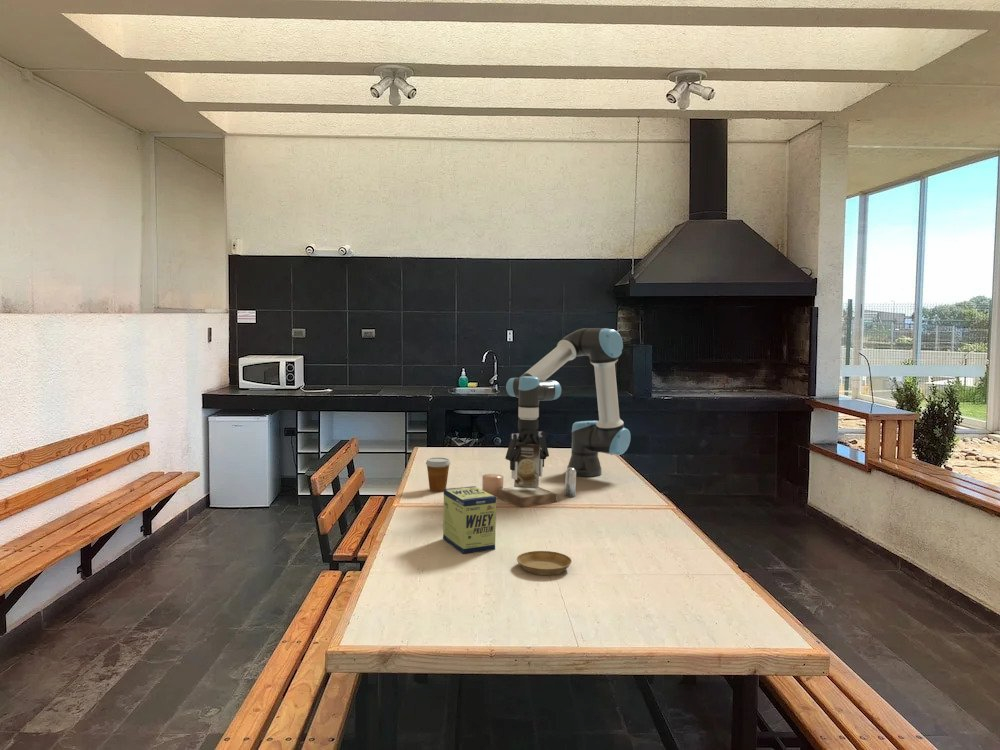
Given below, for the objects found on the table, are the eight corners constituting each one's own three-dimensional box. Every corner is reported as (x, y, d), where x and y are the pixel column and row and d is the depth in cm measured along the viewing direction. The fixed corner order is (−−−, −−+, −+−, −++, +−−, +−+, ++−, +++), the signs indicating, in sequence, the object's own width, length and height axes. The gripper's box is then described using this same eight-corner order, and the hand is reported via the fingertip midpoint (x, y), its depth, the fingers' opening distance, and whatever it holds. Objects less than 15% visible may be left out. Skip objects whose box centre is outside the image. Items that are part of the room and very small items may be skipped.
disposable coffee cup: (421, 491, 269) (421, 460, 268) (432, 486, 278) (432, 456, 277) (443, 494, 265) (443, 462, 265) (454, 488, 274) (454, 458, 273)
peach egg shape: (496, 490, 273) (496, 473, 272) (507, 495, 266) (507, 477, 265) (478, 492, 268) (478, 475, 268) (488, 497, 262) (489, 479, 261)
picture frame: (532, 492, 271) (532, 484, 270) (556, 501, 257) (556, 493, 257) (497, 497, 262) (497, 488, 262) (520, 507, 249) (520, 498, 248)
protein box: (463, 554, 197) (464, 500, 196) (442, 539, 211) (442, 488, 210) (496, 549, 202) (497, 496, 201) (473, 534, 215) (474, 485, 214)
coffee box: (513, 487, 257) (514, 444, 255) (515, 483, 263) (515, 441, 262) (538, 488, 256) (539, 445, 254) (539, 484, 262) (540, 442, 261)
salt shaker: (571, 494, 269) (572, 466, 268) (577, 496, 266) (578, 467, 265) (562, 495, 267) (563, 466, 266) (569, 497, 264) (570, 468, 263)
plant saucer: (516, 558, 195) (516, 549, 195) (569, 560, 194) (569, 551, 194) (516, 578, 180) (516, 568, 180) (573, 579, 180) (573, 569, 180)
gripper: (548, 415, 266) (546, 472, 268) (496, 418, 255) (495, 478, 256) (559, 417, 260) (558, 476, 262) (507, 421, 248) (505, 482, 250)
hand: (527, 477), depth 259 cm, fingers closed on coffee box, 10 cm apart
